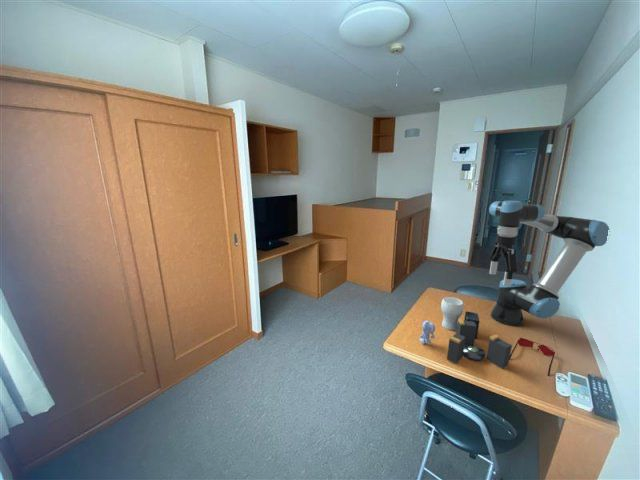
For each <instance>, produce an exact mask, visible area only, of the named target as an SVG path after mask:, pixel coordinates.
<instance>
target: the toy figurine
mask: <svg viewBox="0 0 640 480" xmlns="http://www.w3.org/2000/svg"><path fill="white" fill-rule="evenodd" d="M421 328H422V330H421V332H422V334H420V335H419V342H420V343H421V344H422V345H425V344H427V345H431V340H432V339H435V335H434V333H435V331H436V326H435V323H433V322H431V321H429V320H425V321H423V322H422V323H421ZM430 334H431V336H430ZM430 338H431V340H430Z"/></svg>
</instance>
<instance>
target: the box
mask: <svg viewBox="0 0 640 480" xmlns="http://www.w3.org/2000/svg"><path fill="white" fill-rule="evenodd" d="M463 321H471V322H474V323H475V324H476V326H477V328H476V335H475V340H477V339H478V332H479V326H480V318H479V314H478V312H471V311H466V310H465V315H464V320H463Z"/></svg>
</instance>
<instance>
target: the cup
mask: <svg viewBox="0 0 640 480" xmlns="http://www.w3.org/2000/svg"><path fill="white" fill-rule="evenodd" d="M440 310H441V312H442V315H443V319H442V323H441V326H442V327H443V328H444V329H445V330H450V331H457V325H458V319H460V317H461V316H462V314H463V313H464V302H463V300H461V299H460V298H457V297H453V296H446V297H444V298H442V300H441V305H440Z"/></svg>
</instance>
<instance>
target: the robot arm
mask: <svg viewBox="0 0 640 480" xmlns="http://www.w3.org/2000/svg"><path fill="white" fill-rule="evenodd" d="M488 209H489V210H488V212H489V214H490V215H491V216H494V217H498V218H499V219H498V225H497V228H496V230H497V232H496V237H495V242H494V245H493V247H492V250H491V252H490V254H489V257H488V258H489V259H490V268H489V275H495V276H496V275H497V271H498V265H499V259H500V258H501V257H502V258H503V260H504V265H505V269H506V270H505V271H504V276H503V279H502V280H500V281H499V285H498V290H497V291H498V292H497V299H496V303H495V305H494V306H493V308H492V310H491V311H490V317H491V318H492V319H493V320H495V321H496V322H498V323H500V324H503V325H507V326H510V327H511V326H512V327H519V326H522V325H523V324H524V321H525V320H524V319H525V318H524V315H523V311H525V312H526V313H528V314H530V315H531V316H535V317H536V318H539V319H549V318H551V317H553V316H554V315H555V314H557V313H558V311H559V310H560V305H561V303H560V301H559V298H560V296H559V294H558V293H559V291H560V290H561V288H562V287H563V286H564V284H565V283H566V281H567V280H568V279H569V277H570V276H571V274H572V273H573V271H574V270H575V269H576V267H577V266H578V265H579V264H580V262H581V260H582V258H583V257H585V254H586V253H587V252H592V251H593V250H594V249H595V248H596V247H602V246H604V245H605V244H607V242H608V241H607V236H608V230H610V227H609V225H608V224H607V223H606V222H604V221H600V220H596V219H589V218H581V217H574V216H564V215H563V216H562V215H555V214H552V213H551V214H545V212H546V210H545V208H544V206H542V205H541V204H534V203H533V204H526V203H523V201H521V200H503V201H496V200H495V201H493V202H492V203H491V204H490V205H489V208H488ZM520 224H523V225H526V226H530V227H533V228H537V229H538V230H540V231H541V232H542V233H543V232H544V233H547V234H549V235H551V236H555V237H557V238H560V239H562V240H563V245H562V247H561V249H559V252H558V253H557V255H556V256H555V257H554V258H553V260H552V262H551V263H550V264H549V266H548V267H547V268H546V271H545V272H544V273H543V274H542V276H541V277H540V279H539V280H538V282H537V283H533V284H531V285H530V287H527V286H528V283H527V282H526V281H523V280H520V279H516V278H515V279H514V278H513V274H514V273H517V272H518V271H517V269H518V267H517V257H516V253H517V250H516V248H513V249H512V247H513V246H516V244H517V239H518V238H517V236H518V234H519V228H520V227H519V226H520ZM606 241H607V242H606Z"/></svg>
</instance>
